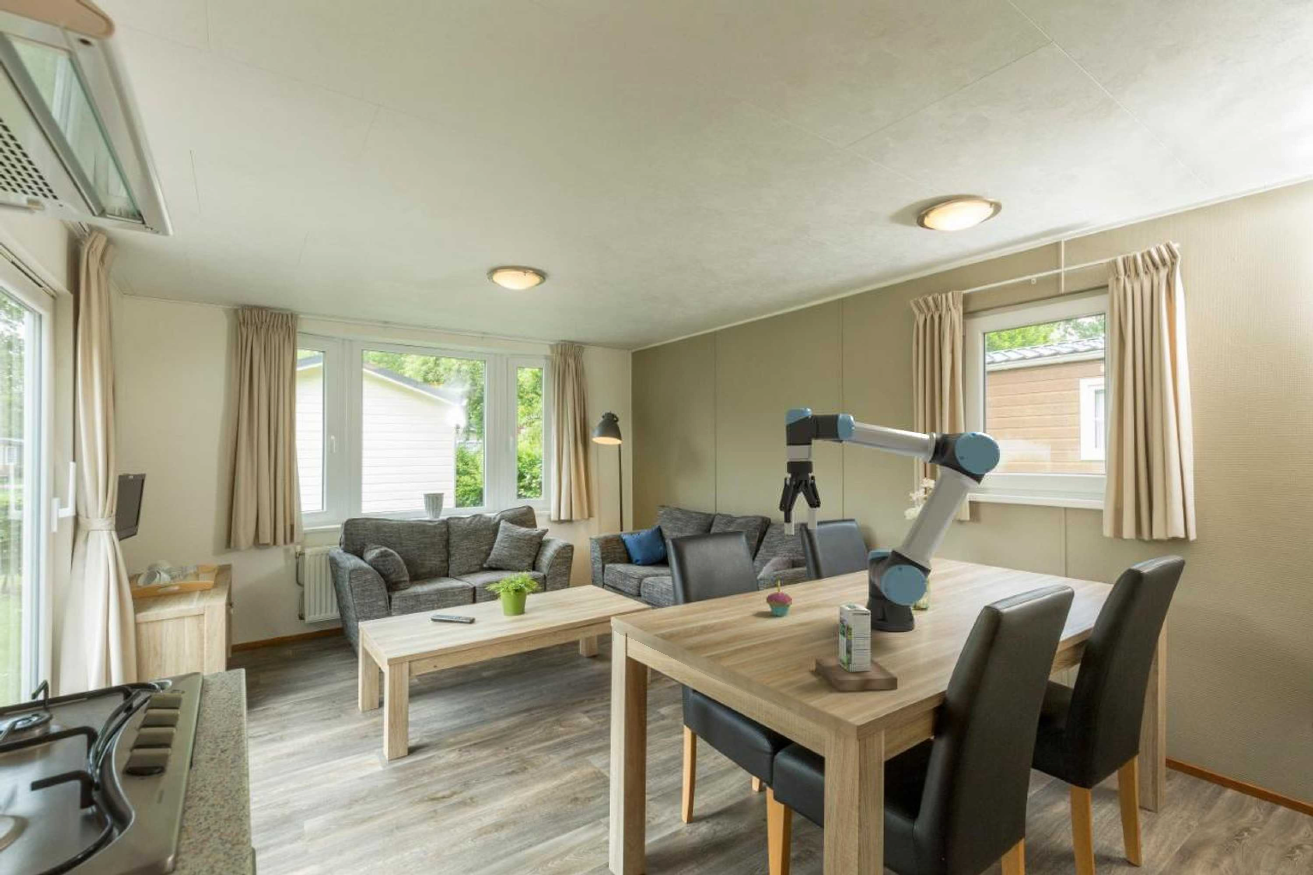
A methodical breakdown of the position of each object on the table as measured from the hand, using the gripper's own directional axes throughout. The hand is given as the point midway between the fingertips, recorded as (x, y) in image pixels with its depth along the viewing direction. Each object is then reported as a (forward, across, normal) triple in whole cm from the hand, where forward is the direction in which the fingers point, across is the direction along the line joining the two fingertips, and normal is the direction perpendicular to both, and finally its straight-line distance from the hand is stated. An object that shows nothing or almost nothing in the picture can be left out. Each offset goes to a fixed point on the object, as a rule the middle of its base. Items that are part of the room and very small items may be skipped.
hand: (801, 531), depth 180 cm
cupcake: (+30, -14, -17) cm, 38 cm away
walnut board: (+30, +23, +26) cm, 46 cm away
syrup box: (+28, +22, +26) cm, 45 cm away
